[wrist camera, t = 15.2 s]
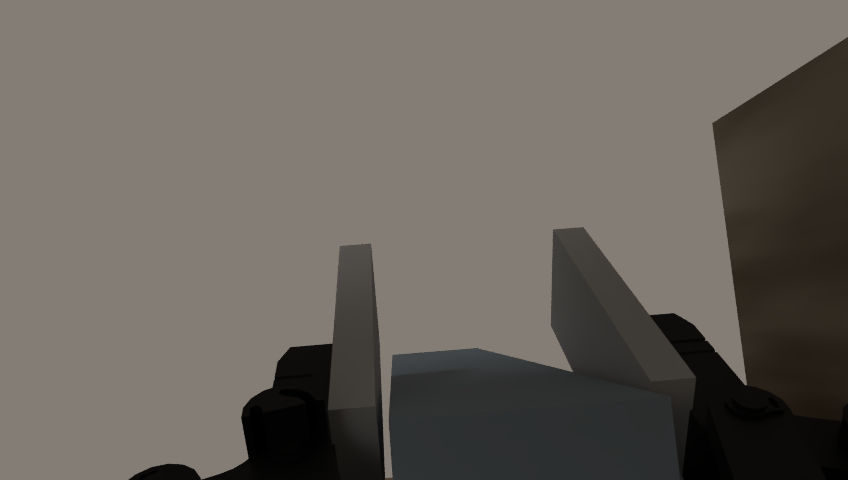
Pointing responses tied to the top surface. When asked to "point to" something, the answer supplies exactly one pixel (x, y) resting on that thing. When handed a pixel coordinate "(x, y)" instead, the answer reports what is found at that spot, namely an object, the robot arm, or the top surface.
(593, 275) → the robot arm
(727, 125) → the stand
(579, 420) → the rod
